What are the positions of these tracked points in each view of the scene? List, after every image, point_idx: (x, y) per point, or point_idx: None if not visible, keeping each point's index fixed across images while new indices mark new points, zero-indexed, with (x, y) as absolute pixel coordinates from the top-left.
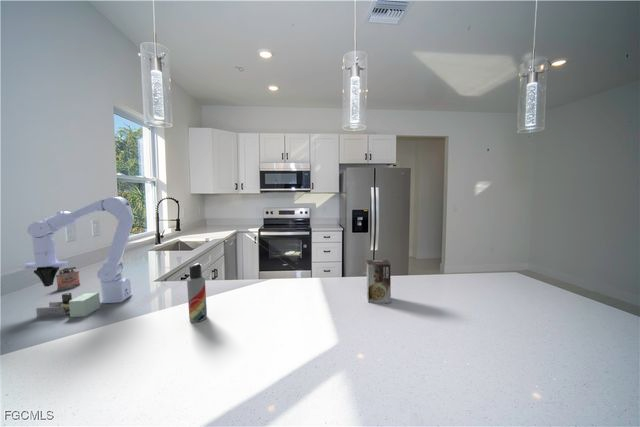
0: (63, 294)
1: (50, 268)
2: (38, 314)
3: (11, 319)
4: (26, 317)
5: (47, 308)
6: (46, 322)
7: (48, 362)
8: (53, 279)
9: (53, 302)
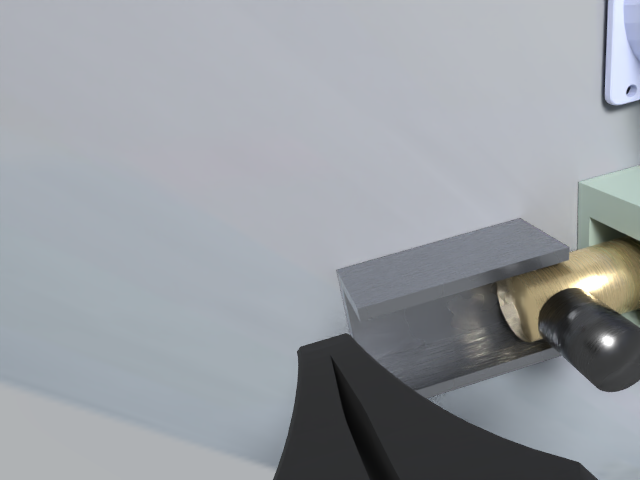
0: (599, 372)
1: None
2: None
3: (188, 416)
4: (265, 376)
5: (459, 386)
6: (487, 387)
7: None
8: (383, 375)
9: (396, 308)
